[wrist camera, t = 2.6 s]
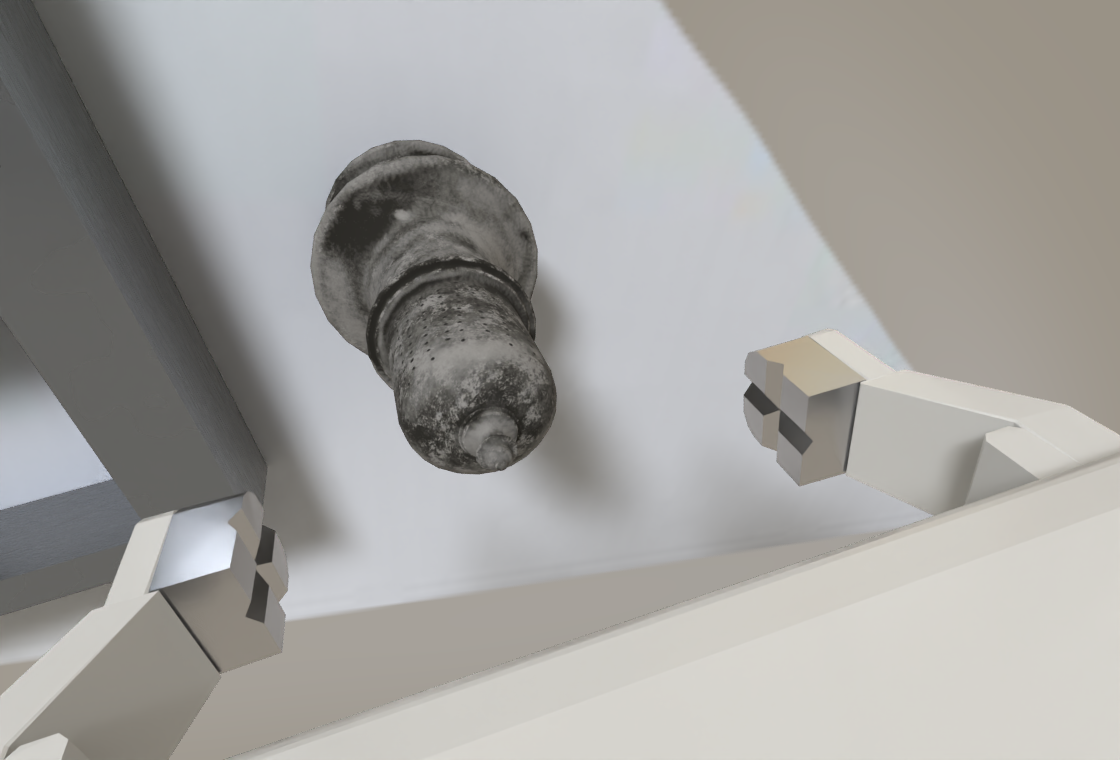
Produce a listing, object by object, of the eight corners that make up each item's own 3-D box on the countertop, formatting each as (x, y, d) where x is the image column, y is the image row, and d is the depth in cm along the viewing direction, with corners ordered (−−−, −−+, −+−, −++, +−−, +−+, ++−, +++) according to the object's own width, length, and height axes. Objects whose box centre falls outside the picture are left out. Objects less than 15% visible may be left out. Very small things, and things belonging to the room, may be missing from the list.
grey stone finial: (497, 318, 22) (633, 581, 12) (314, 315, 20) (305, 624, 10) (519, 140, 19) (716, 299, 10) (310, 116, 17) (290, 283, 8)
